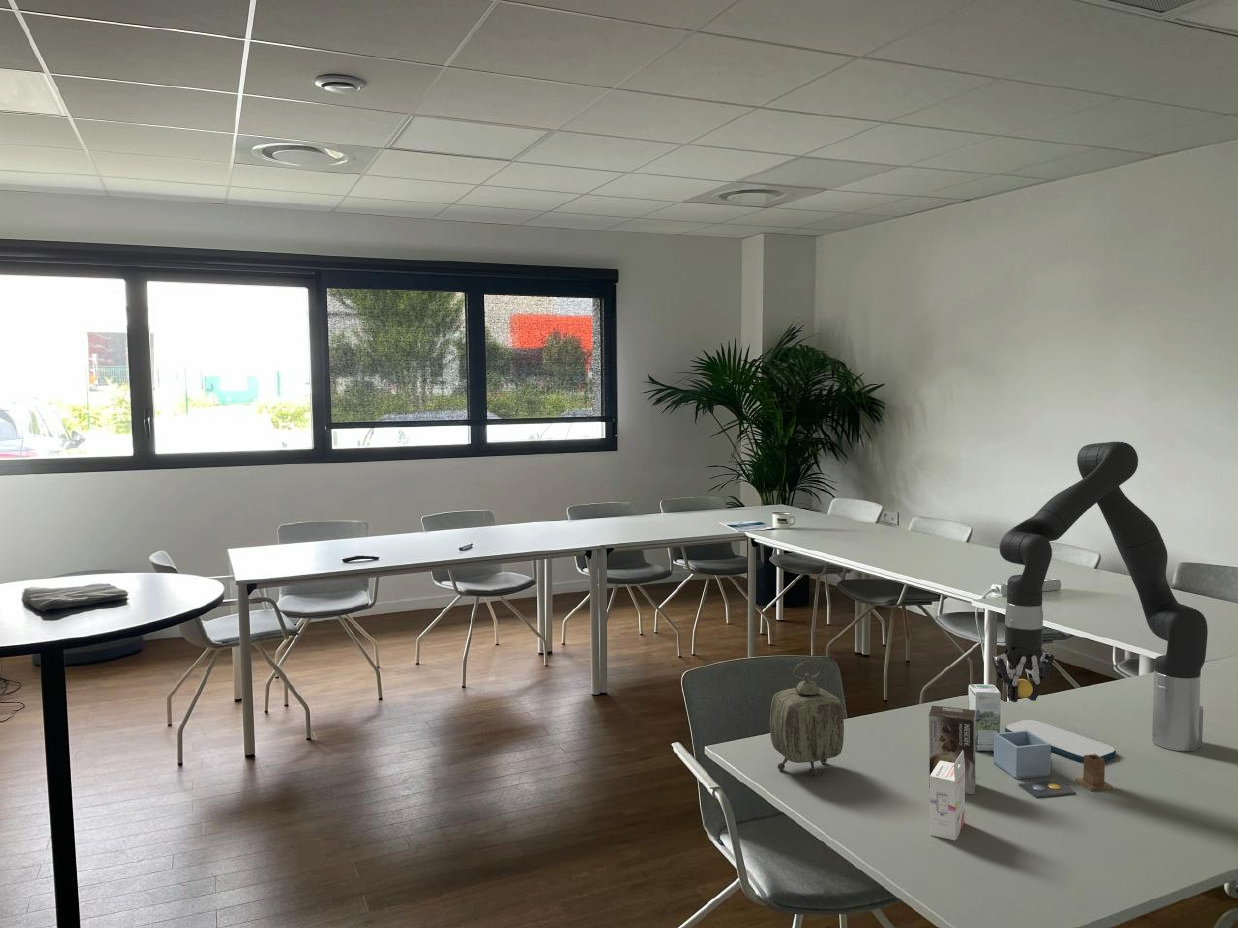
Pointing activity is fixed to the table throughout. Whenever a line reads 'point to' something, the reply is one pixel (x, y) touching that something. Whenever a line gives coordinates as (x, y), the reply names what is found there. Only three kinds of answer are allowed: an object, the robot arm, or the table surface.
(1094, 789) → the brown square ball stand
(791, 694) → the tabletop clock
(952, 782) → the ink cartridge box
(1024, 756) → the blue open box
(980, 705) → the syrup box
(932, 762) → the coffee box
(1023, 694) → the ball amber
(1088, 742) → the white rounded slab
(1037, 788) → the card
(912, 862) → the table surface
